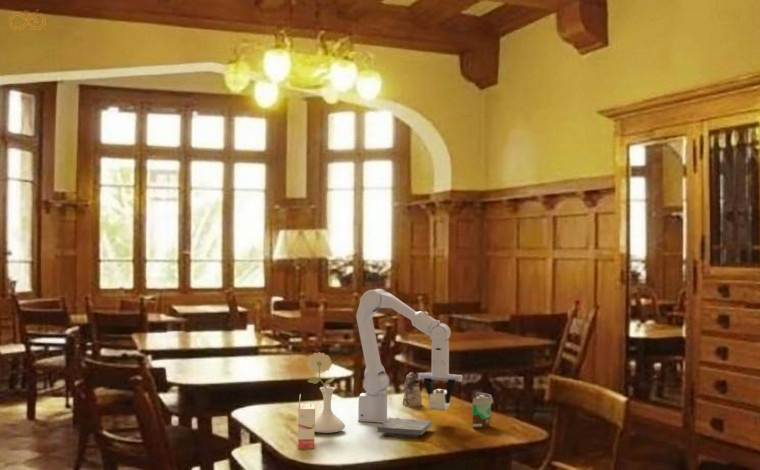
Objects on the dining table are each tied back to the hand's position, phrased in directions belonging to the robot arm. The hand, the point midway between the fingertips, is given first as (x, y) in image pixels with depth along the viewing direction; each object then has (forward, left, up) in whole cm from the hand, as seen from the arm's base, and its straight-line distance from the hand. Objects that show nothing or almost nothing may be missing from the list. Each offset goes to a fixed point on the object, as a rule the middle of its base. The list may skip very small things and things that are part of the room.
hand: (439, 402), depth 279 cm
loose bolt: (-11, -3, -8) cm, 14 cm away
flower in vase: (-33, -20, -8) cm, 39 cm away
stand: (-8, -15, -8) cm, 19 cm away
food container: (+14, +3, -8) cm, 16 cm away
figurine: (-17, +31, -8) cm, 36 cm away
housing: (0, 0, -2) cm, 2 cm away
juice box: (-32, -39, -8) cm, 51 cm away
